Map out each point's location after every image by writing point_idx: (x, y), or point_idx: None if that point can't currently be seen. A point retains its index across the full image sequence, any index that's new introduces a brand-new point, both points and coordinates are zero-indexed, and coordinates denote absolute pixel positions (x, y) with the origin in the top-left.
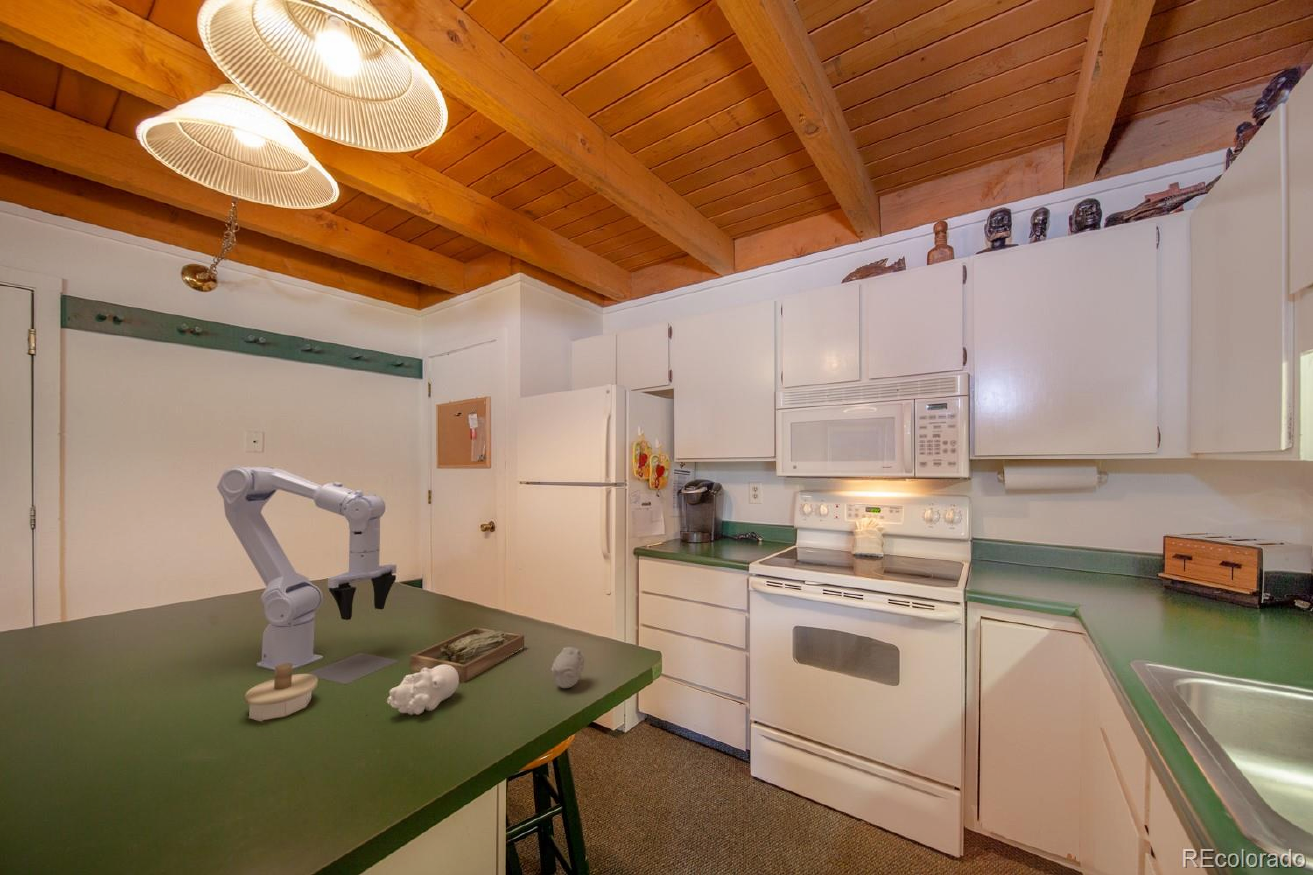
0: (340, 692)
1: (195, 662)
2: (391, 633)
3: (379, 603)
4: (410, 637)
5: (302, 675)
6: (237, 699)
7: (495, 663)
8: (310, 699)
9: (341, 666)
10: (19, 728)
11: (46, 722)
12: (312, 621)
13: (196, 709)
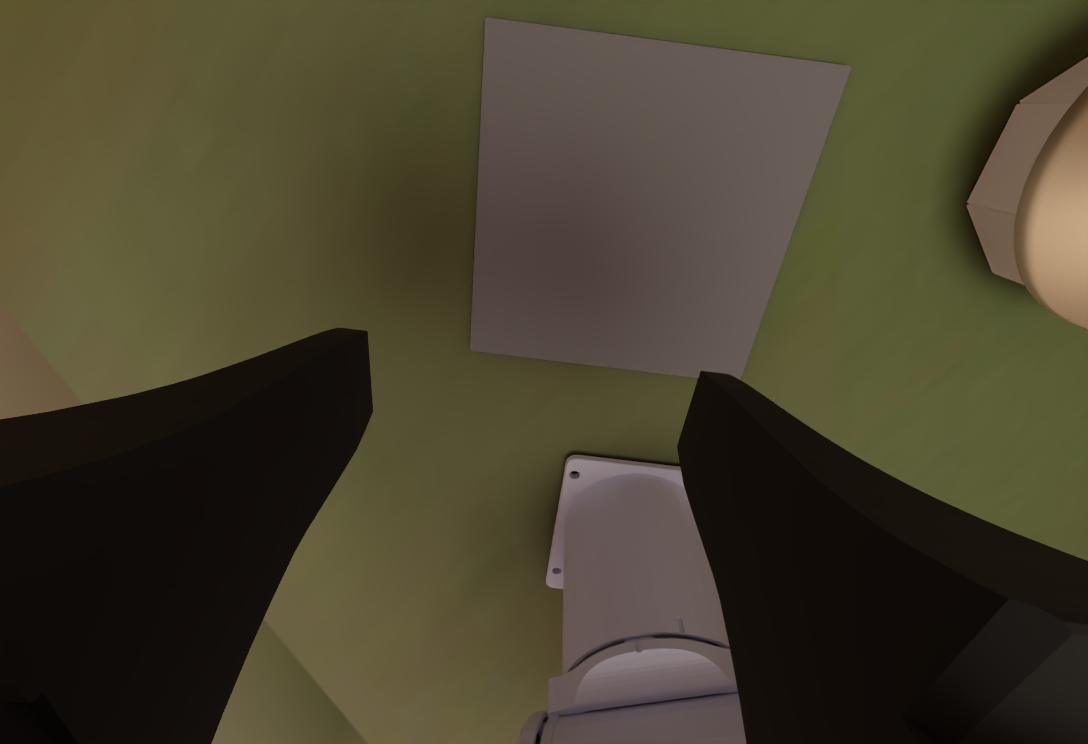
0: (934, 9)
1: None
2: None
3: (343, 388)
4: (197, 280)
5: (1064, 209)
6: (962, 426)
7: None
8: (1040, 91)
9: (637, 297)
10: None
11: None
12: (622, 629)
13: (1032, 478)
